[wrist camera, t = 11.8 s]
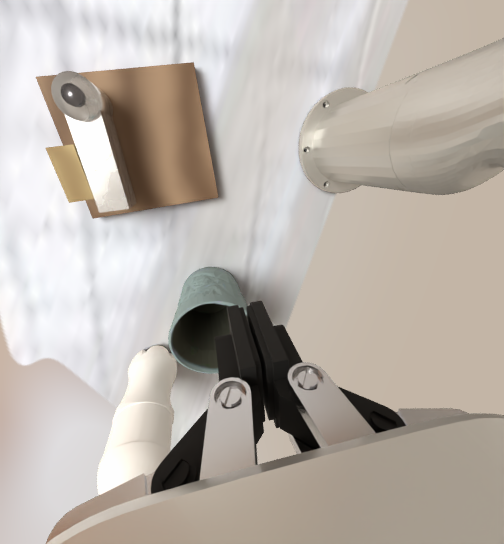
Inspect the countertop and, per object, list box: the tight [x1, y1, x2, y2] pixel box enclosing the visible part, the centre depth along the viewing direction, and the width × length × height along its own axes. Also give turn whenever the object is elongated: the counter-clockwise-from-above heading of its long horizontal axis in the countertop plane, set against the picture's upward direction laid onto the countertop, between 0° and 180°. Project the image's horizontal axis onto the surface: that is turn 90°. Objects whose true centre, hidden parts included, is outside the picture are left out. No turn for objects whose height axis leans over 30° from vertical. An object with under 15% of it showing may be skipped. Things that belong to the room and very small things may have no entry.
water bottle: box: [97, 345, 177, 495], centre depth 31 cm, size 7×7×25 cm
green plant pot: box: [168, 267, 247, 374], centre depth 34 cm, size 10×10×12 cm
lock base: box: [36, 62, 218, 218], centre depth 27 cm, size 15×14×6 cm
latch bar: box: [51, 71, 137, 213], centre depth 25 cm, size 12×4×5 cm, turn 6°
